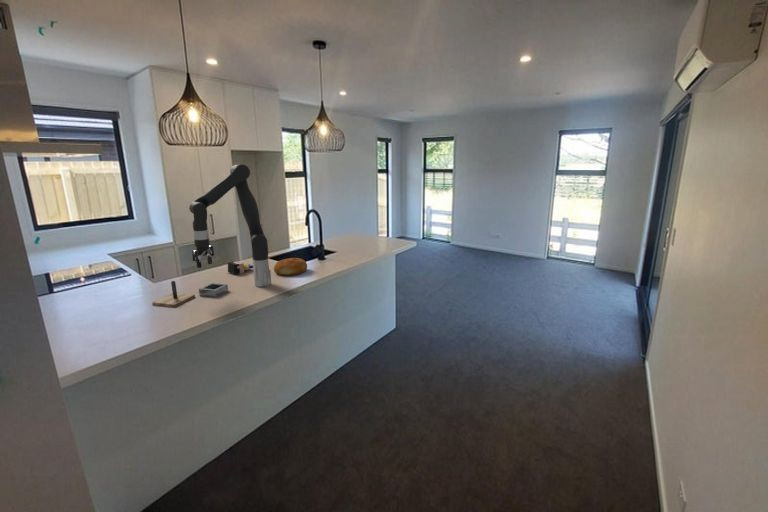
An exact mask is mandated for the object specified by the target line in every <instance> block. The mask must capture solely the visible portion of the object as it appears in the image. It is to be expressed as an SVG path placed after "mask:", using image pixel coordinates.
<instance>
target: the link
mask: <svg viewBox="0 0 768 512" xmlns="http://www.w3.org/2000/svg"><path fill="white" fill-rule="evenodd" d="M228 291H229V287H228V284H227V283H226V284H225V283H215V282H214V283H213V282H210V283H208V284H207V285H204V286H203V287H201V288H199V289H198V293H199V296H201V297H211V298H217V297H219V296H221V295H223V294H225V293H227V292H228Z"/></svg>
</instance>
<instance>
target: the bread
mask: <svg viewBox="0 0 768 512" xmlns="http://www.w3.org/2000/svg"><path fill="white" fill-rule="evenodd" d="M306 270H308V264H307V261H305V260H304V259H303V258H299V257H289V258H284V259H281V260H278V261H277V262H275V264H274V267H273V271H274V273H275V274H277V275H280V276H294V275H295V276H296V275H301V274H302V273H304V272H306Z"/></svg>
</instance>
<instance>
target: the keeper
mask: <svg viewBox="0 0 768 512" xmlns="http://www.w3.org/2000/svg"><path fill="white" fill-rule="evenodd" d="M170 284H171V291H172V293H170V294H168V295H165V296H163V297H160V298H159V299H157V300H154V301H152V302H151V303H152V305H153V306H160V307H169V308H176V307H179V306H180V305H183V304H184V303H187V302H189V301H190V300H192V299H194V298H196V295H195V294H190V293H179V292H178V291H177V284H176V281H175V280H172V281H171V282H170Z"/></svg>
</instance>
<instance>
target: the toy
mask: <svg viewBox="0 0 768 512" xmlns="http://www.w3.org/2000/svg"><path fill="white" fill-rule="evenodd" d="M250 269H253V264H249V263H244V262H240V261H228V262H227V272H228V273H229V274H231V275H238V274H244V273H245V271H248V270H250Z"/></svg>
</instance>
